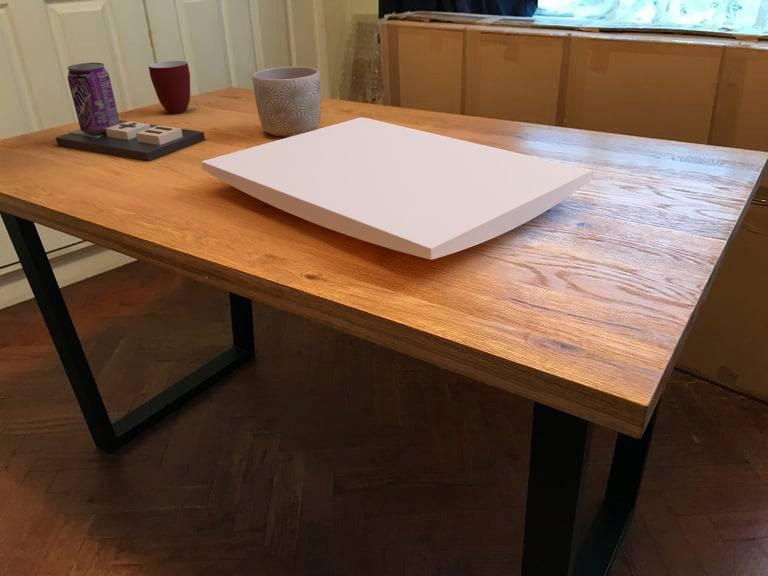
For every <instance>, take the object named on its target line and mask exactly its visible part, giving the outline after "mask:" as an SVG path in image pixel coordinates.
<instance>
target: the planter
mask: <svg viewBox="0 0 768 576" xmlns="http://www.w3.org/2000/svg"><path fill="white" fill-rule="evenodd" d="M320 73H321V72H320V69H318V68H315V67H311V66H297V65H296V66H278V67H271V68H270V67H269V68H266V69H265V68H264V69H261V70H258V71H255V72H253V73H252V74H251V77H252V78H251V79H252V85H253V91H254V92H253V93H254V98H255V104H256V108H257V114H258V118H259V122H260V126H261V127H262V129H263V131H265V132H266V133H268V134H270V135H271V136H276V137H282V138H283V137H284V138H288V137H292V136H295V135H299V134H302V133H306V132H310V131H313V130H317V129H318V128H319V125H320V124H321V115H322V98H321V97H322V96H321V75H320Z"/></svg>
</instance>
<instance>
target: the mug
mask: <svg viewBox="0 0 768 576" xmlns="http://www.w3.org/2000/svg"><path fill="white" fill-rule="evenodd" d="M148 71H149V77H150V80H151V83H152V86H153V89H154V92H155V94H156V96H157V99H158V101H159V103H160V105H161V106H162V107H163V109H164V111H165V112H166V113H168V114H170V115H179V114H183V113H186V112H187V111H188V108H189V104H190V100H191V72H190V68H189V63H188V61H185V60H170V61H169V60H167V61H159V62H154V63H151V64H149V65H148Z"/></svg>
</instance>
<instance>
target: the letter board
mask: <svg viewBox="0 0 768 576" xmlns="http://www.w3.org/2000/svg"><path fill="white" fill-rule="evenodd" d="M119 121H120V124H118V125H115V126H112V127H109V128H106V133H107V134H101V135H91V134H88V133H86V132H83V131H81V129H80V128H79V129H76V130H72V131H69V132H68V133H66V134H63V135H59V136H56V137H55V140H56V145H57V146H59V147H66V148H71V149H76V150H82V151H87V152H94V153H100V154H105V155H106V154H107V155H111V156H117V157H122V158H128V159H134V160H139V161H146V162H150V161H153V160H156V159H158V158H160V157H163V156H166V155H169V154H171V153H174V152H177V151H179V150H182V149H185V148H187V147H189V146H192V145H196V144H197V143H200V142H203V141H206V137H205V132H204V131H201V130H194V129H186V128H181V127H174V126H166V125H157V124H151V123H146V122H140V121H139V122H138V121H130V120H129V121H128V120H122V119H119Z"/></svg>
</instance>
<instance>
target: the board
mask: <svg viewBox="0 0 768 576" xmlns="http://www.w3.org/2000/svg"><path fill="white" fill-rule="evenodd" d="M200 162H201V169H202V171H204V172H206V173H208V174H209V175H211V176H213V177H214V178H216V179H218V180H220V181H222V182H223V183H225V184H228V185H229V186H231V187H233V188H235V189H237V190H239V191H241V192H243V193H245V194H247V195H249V196H251V197H253V198H255V199H257V200H259V201H261V202H263V203H266V204H267V205H270V206H272V207H275V208H276V209H279V210H281V211H283V212H286V213H288V214H291V215H293V216H296V217H298V218H300V219H303V220H305V221H308V222H310V223H313V224H316V225H318V226H320V227H323V228H326V229H329V230H331V231H335V232H337V233H340V234H344V235H346V236H349V237H352V238H355V239H357V240H360V241H364V242H366V243H370V244H373V245H376V246H379V247H382V248H386V249H390V250H394V251H396V252H400V253H404V254H408V255H411V256H414V257H418V258H423V259H427V260H430V261H432V260H435V259H438V258H442V257H446V256H449V255H452V254H455V253H457V252H460V251H463V250H466V249H470V248H472V247H474V246H477V245H480V244H482V243H485V242H488V241H489V240H492V239H495V238H496V237H499V236H501V235H503V234H505V233H508V232H510V231H512V230H514V229H516V228H518V227H520V226H522V225H524V224H526V223H528V222H529V221H531V220H533V219H534V218H537V217H539V216H540V215H542V214H544V213H545V212H547V211H549V210H551V209H552V208H553V207H555V206H556V205H558V204H560V203H561V202H563V201H564V200H566V199H567V198H569V197H570V196H572V195H573V194H575V193H576V192H577V191H579V190H580V189H582V188H583V187H584V186H586V185H587V184H588V183H589V182H591V181H593V177H594V176H593V175H594V170H592V169H590V168H589V169H588V168H584V167H581V166H577V165H576V166H575V165H572V164H571V165H570V164H567V163H564V162H563V163H562V162H558V161H554V160H549V159H545V158H541V157H536V156H532V155H529V154H524V153H519V152H515V151H511V150H507V149H501V148H498V147H494V146H493V147H492V146H489V145H485V144H480V143H476V142H472V141H468V140H464V139H459V138H454V137H450V136H446V135H442V134H437V133H432V132H428V131H424V130H420V129H415V128H411V127H408V126H407V127H406V126H402V125H398V124H394V123H390V122H386V121H381V120H376V119H373V118H368V117H364V116H361V117H357V118H353V119H350V120H347V121H343V122H339V123H336V124H332V125H329V126H328V125H327V126H324V127H321V128H316V129H315V130H313V131H310V132H306V133H302V134H299V135H295V136H291V137H284V138H280V139H277V140H274V141H270V142H266V143H262V144H259V145H256V146H251V147H249V148H248V147H247V148H245V149H240V150H238V151H234V152H231V153H227V154H223V155H219V156H216V157H211V158H208V159H205V160H202V161H201V160H200Z"/></svg>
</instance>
